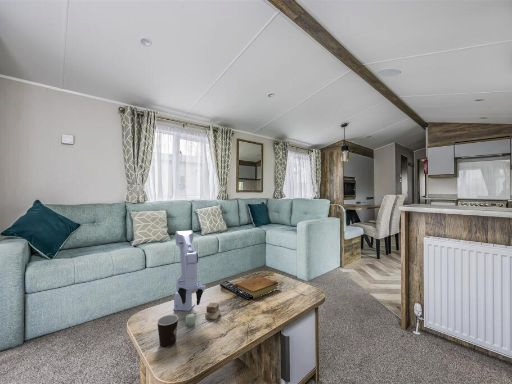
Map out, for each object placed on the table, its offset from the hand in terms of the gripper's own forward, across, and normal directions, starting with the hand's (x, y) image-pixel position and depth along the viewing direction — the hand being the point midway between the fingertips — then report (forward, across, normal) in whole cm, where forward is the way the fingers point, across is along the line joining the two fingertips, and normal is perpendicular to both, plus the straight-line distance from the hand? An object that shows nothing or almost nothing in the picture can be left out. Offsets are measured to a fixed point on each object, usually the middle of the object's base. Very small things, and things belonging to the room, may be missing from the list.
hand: (191, 303), depth 119 cm
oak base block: (+10, +8, +10) cm, 16 cm away
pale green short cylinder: (+10, 0, 0) cm, 10 cm away
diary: (+11, +26, +47) cm, 55 cm away
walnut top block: (+7, +8, +10) cm, 14 cm away
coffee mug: (+10, -2, -15) cm, 18 cm away
